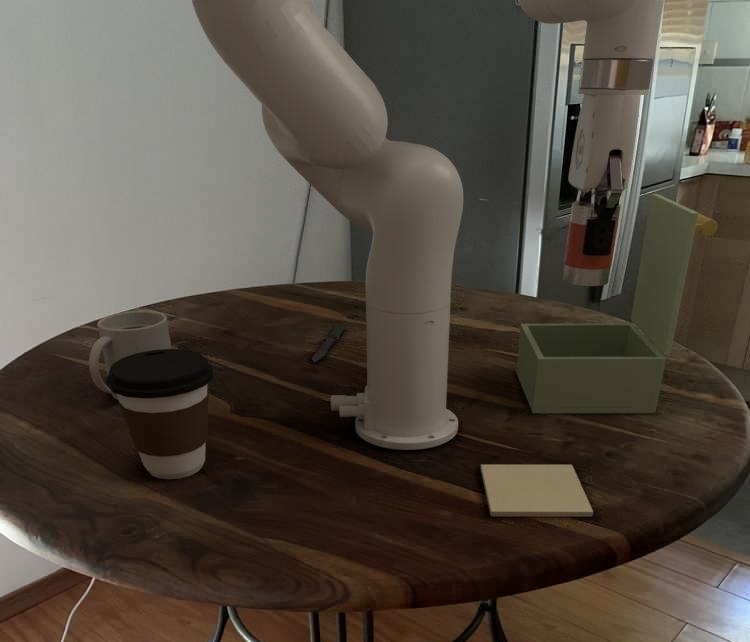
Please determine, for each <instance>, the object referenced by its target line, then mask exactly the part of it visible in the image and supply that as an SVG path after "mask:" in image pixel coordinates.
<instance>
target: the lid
mask: <svg viewBox="0 0 750 642" xmlns="http://www.w3.org/2000/svg"><path fill="white" fill-rule="evenodd" d="M647 216H648V217H647V221H646V226H645V232H644V239H643V245H642V251H641V256H640V261H639V268H638V273H637V274H638V275H637V280H636V287H635V292H634V299H633V304H632V309H631V317H630V321H631V323H633V324H634V325H635V327H636V328H637V329H638V330H639V331H640V332H641V333H642V334H643V335H644V336H645V337H646V338H647V339H648V340H649V341H650V342H651V343H652V345H653V346H654V347H655V348H656V349H657V350H658V351H659V352H660V353H661V354H662V355H663V356H670V355H671V353H672V348H673V342H674V337H675V333H676V327H677V322H678V318H679V313H680V307H681V303H682V298H683V293H684V288H685V283H686V277H687V272H688V267H689V262H690V258H691V253H692V248H693V243H694V239H695V233H696V232H698V233H700V234H701V235H703V236H705V237H711V236H713V235H714V234H715V233H716V232H717V230H718V223H717V221H715V220H714V219H712V218H710V217H707V216H705V215H704V214H702V213H699V212H698V211H695V210H693V209H691V208H689V207H687V206H685V205H682V204H680V203H678V202H676V201H674V200H672V199H670V198H667V197H665V196H663V195H661V194H659V193H651V197H650V202H649V209H648V215H647Z"/></svg>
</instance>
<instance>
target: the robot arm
mask: <svg viewBox="0 0 750 642" xmlns="http://www.w3.org/2000/svg"><path fill="white" fill-rule="evenodd" d="M517 2H518V4H519V6H520V8H521V10H522V11H523V12H524V13H525V14H526V15H527V16H529V17H530V18H531V19H532V20H534V21H536V22H539V23H542V24H549V25H550V24H551V25H555V24H566V23H567V24H568V23H574V22H581V21H582V22H583V21H584V22H586V29H585V36H584V43H583V53H582V60H581V66H580V67H581V68H580V75H579V76H580V77H579V84H578V91H577V94H578V95H583V98H582V101H581V106H580V110H579V114H578V119H577V122H576V123H577V124H576V130H575V135H574V140H573V147H572V151H571V157H570V164H569V170H568V179H567V181H568V183H569V184H570V185H571V186H572V187H573V188H575V189H577V196H576V200H575V202H577V201H591V215H590V218H591V219H587V223H586V230H585V237H584V244H583V251H582V252H583V254H584V255H586V256H608V255H609V254H610V253H611V247H612V241H613V234H614V228H615V222H616V218H617V208H618V205H619V204H620V203H619V202H620V198H621V197H622V194H623V192H624V191H625V190H626V189H627V188H628V185H629V181H630V177H631V172H632V165H633V160H634V153H635V147H636V139H637V130H638V122H639V116H640V115H639V112H640V102H641V96H648V95H649V89H650V86H651V79H652V73H653V67H654V60H655V55H656V50H657V43H658V37H659V33H660V32H659V31H660V27H661V26H660V25H661V20H662V15H663V9H664V3H665V0H517ZM191 3H192V6H193V9H194V12H195V15H196V17H197V20H198V22H199V24H200V26H201V28H202V30H203V33H204V34H205V36H206V38H207V40H208V42H209V43H210V45H211V46H212V48H213V49H214V50H215V52H216V53H217V54H218V56H219V57H220V59H221V60H222V61H223V63H224V64H225V65H226V66H227V67H228V68H229V70H231V72H232V73H233V74H234V75H235V76H236V77H237V78H238V79H239V81H241V83H242V84H243V85H244V86H245V87H246V88H247V89H248V90H249V92H250V93H251V94H252V95H253V96H254V97H255V98H256V99H257V101H258V102H260V104H261V118H262V123H263V125H264V129H265V132H266V134H267V136H268V138H269V140H270V142H271V143H272V145H273V146H274V149H276V150H277V152H278V153H279V154H280V155H281V157H282V158H283V159H284V160H285V161H286V162H287V163H288V164H289V165H290V166H291V167H292V168H293V169H294V170H295V171H296V172H297V173H298V174H299V175H300V176H301V177H302V178H303V179H304V180H305V181H306V182H307V183H309V185H310V186H311V187H312V188H314V189H315V190H316V192H318V193H319V195H321V196H322V197H323V198H324V199H325V200H326V201H327V202H328V203H329V204H330V205H331V206H332V207H333V208H334V209H335V210H336V211H337V212H339V213H340V214H341V215H342V216H343V217H344V218H345V219H347V220H348V221H349V222H351V223H353V224H354V225H356V226H358V227H360V228H362V229H365V230H368V231H369V232H372V240H371V245H370V250H369V253H368V259H367V264H366V269H365V283H364V285H365V288H364V289H365V297H364V298H365V331H366V332H365V336H366V337H365V339H366V340H365V341H366V385H365V387H364V392H356V395H346V394H344V395H343V394H336V395H334V394H332V395H330V411H331V412H338V413H339V414H338V415H339V418H351V417H352V418H353V417H355V420H354V428H355V429H354V430H355V432H356V434H357V435H358V436H359V437H360V438H361V439H362V440H363V441H365V442H367V443H369V444H371V445H373V446H376V447H380V448H384V449H388V450H389V449H390V450H398V451H416V450H426V449H431V448H435V447H439V446H442V445H443V444H446V443H448V442H449V441H451V440H452V439H454V437H455V436H456V435H457V434H458V431H459V419H458V417H457V416H456V414H455V413H454V412H452V411H451V410H450V409H448V408H447V396H448V370H449V348H450V347H449V346H450V326H451V325H450V322H451V321H450V320H451V294H452V277H453V276H452V275H453V263H454V255H455V249H456V243H457V240H458V239H457V238H458V235H459V231H460V226H461V221H462V216H463V212H464V211H463V210H464V187H463V183H462V179H461V177H460V174H459V172H458V170H457V168H456V166H455V165H454V164H453V162H452V161H451V160H450V158H448V157H447V156H446V155H445V154H443V153H442V152H440V151H439V150H437V149H435V148H433V147H430V146H427V145H425V144H419V143H413V142H409V141H408V142H407V141H397V140H389V139H388V138H387V132H388V126H389V124H388V123H389V122H388V121H389V119H388V112H387V111H388V110H387V107H386V104H385V102H384V99H383V97H382V95H381V93H380V91H379V89H378V88H377V85H376V84H375V83H374V82H373V80H372V79H370V78H369V76H368V75H367V73H365V71H364V70H363V69H361V67H360V66H359V65H358V64H357V63H356V62H355V60H354V59H353V58H352V57H351V56H350V55H349V53H348V52H347V51H346V50H345V49H344V48H343V46H342V45H341V44H340V43H339V42H338V41H337V39H336V38H335V37H334V36H333V35H332V34H331V33H330V31H329V30H328V29H327V27H325V25H324V24H323V23H322V22H321V21H320V19H319V18H318V17H317V16H316V14H315V13H314V11H313V10H312V9H311V8H310V6H309V5H308V4H307V2H306V1H305V0H191ZM605 188H606V189H605ZM599 201H600V203H599V206H598V202H599Z"/></svg>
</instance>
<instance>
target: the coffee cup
mask: <svg viewBox="0 0 750 642" xmlns="http://www.w3.org/2000/svg"><path fill="white" fill-rule="evenodd" d="M213 379H214V367H213V365H212V364H210V363H209V359H208V358H207V357H205V356H204V355H202V354H201V353H200V352H197V351H193V350H189V349H178V348H171V349H162V350H151V351H146V352H140V353H135V354H133V355H130V356H127V357H124V358H121V359H120V360H118V361H117V362H115V363H114V364H112V366H111V368H110V370H109V374H107V377H106V380H105V383H106V386H107V387H108V388H109V389H110V390H111V391H112V392H113V393H116V394H117V397H118V399H119V400H117V404H118V407H119V409H120V412H121V414H122V417H123V420H124V422H125V425H126V428H127V431H128V434H129V437H130V439H131V441H132V443H133V446H134V448H135V449H136V450H137V452H138V455H139V457H140V459H141V462H142V465H143V466H144V468H145V469H146V470H147V472H148V473H149V474H150V475H151V477H154V478H157V479H159V480H160V479H162V480H176V479H178V480H179V479H184V478H186V477H190V476H192V475H194V474H196V473H198V472H199V471H200V470H201V469H202V468H203V466H204V465H205V461H206V445H207V444H206V443H207V441H208V433H209V432H208V430H209V429H208V428H209V427H208V426H209V397H210V396H209V395H210V394H209V392H210V391H209V390H210V389H209V388H208V384H209V383H210V382H211V381H212V380H213Z"/></svg>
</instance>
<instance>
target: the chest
mask: <svg viewBox="0 0 750 642" xmlns="http://www.w3.org/2000/svg"><path fill="white" fill-rule="evenodd" d="M518 338H519V340H518V350H517V359H516V375H517V378H518V380H519V383H520V385H521V388H522V390H523V393H524V395H525V399H526V401H527V403H528V405H529V407H530V410H531V413H532V414H656V412H657V407H658V402H659V398H660V393H661V386H662V381H663V377H664V371H665V366H666V361H667V358H666V357H665V355H664V354H663V353H662V352H661V351H660V350H659V349H658V348H657V347H656V346H655V345H654V344H653V343H652V342H651V341H650V340H649V339H648V338H647V337H646V336H645V334H644V333H643V332H642V331H641V330H640V329H639V328H638V327H637V326H636V325H635V324H634V323H633V322H631V323H628V322H627V323H626V322H625V323H520V328H519V337H518Z"/></svg>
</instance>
